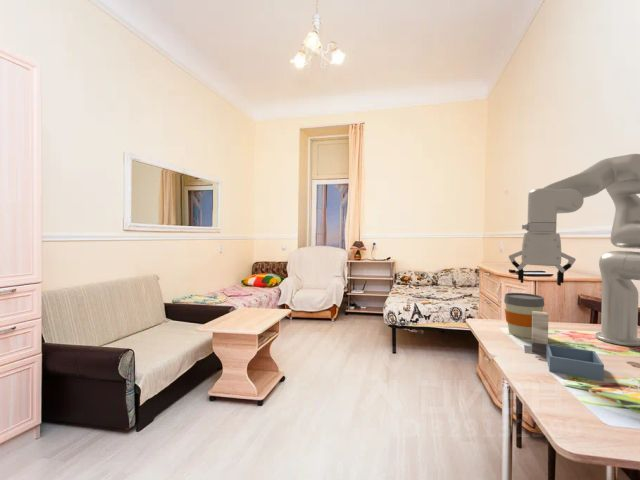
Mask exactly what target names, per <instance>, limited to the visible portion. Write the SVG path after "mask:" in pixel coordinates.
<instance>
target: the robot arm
mask: <svg viewBox="0 0 640 480" xmlns="http://www.w3.org/2000/svg"><path fill="white" fill-rule="evenodd" d="M604 190H606V192H607V193H608V196H610V198H611V199H612V202H613V204H614V207H615V212H614V216H613V223H612V227H611V231H610V243H611V244H612V245H613V246H614V247H617V248H622V249H637V250H639V249H640V197H639V196H638V195H640V153H629V154H625V155H624V154H623V155H620V156H619V155H618V156H613V157H608V158H604V159H601V160H600V161H598V162H596V163H594V164H593V165H591V166H589V167H588V168H586V169H584V170H583V171H581V172H579V173H576V174H575V175H570V176H568V177H566V178H564V179H561V180H558V181H556V182H553V183H550V184H548V185H546V186H544V187H542V188H533V189H531V190H530V191H529V192H528V193H527V195H528V196H527V224H522V225H521V230H526V232H525V233H524V234H523V238H522V245H521V246H522V247H521V250H519V251H517V252H515V253H512V254H509V255H508V259H509V261H510V262H511V264H512V265H513V266H514V267H515V268H516V269H517V270H518V272H517V273H518V274H517V275H518V277H517V279H518V281H520V283H521V284H524V276H525V275H524V274H525V273H524V271H525V270H524V267H526V266H527V265H529V266H543V267H544V266H546V267H548V266H549V267H555V268H556V269H557V273H556V277H557V278H556V285H557V286H562V284H564V282H565V281H564V277H565V273H566V271H568V270H569V269H571V268H572V266H573V264H574V263H575V262H576V257H573V256H571V255H568V254H566V253H565V252H562V242H561V235H560V233H557V224H558V222H557V216H558V214H569V213H570V214H571V213H574V212H577V211H578V210H580V209H581V208H582V207H583V204H584V199H585V198H590V197H591V196H592V197H593V196H595V195H597V194H599V193H600V192H602V191H604ZM520 256H521V263H520V264H519V263H518V262H517V261H516V258H518V257H520ZM562 258H564V259H566V260H567V261H568V262H566V264H565V265H563V266H562V265H561V264H562ZM598 267H599V272H600V276H601V315H600V317H601V321H600V322H601V323H600V324H601V325H600V327H601V328H600V331H598V332H596V333H595V338H596V339H598V340H600V341H603V342H607V343H610V344H615V345H619V346H620V345H621V346H628V347H640V337H638V327H639V326H638V323H639V321H638V320H639V318H638V317H639V290H638V288H637V287H636V285H635V284H634V283H633V281H640V251H630V250H629V251H628V250H627V251H626V250H612V251H611V250H610V251H607V252H605V253H603V254H602V255H601V256H600V257H599V260H598ZM632 280H633V281H632Z"/></svg>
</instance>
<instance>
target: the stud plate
mask: <svg viewBox="0 0 640 480" xmlns="http://www.w3.org/2000/svg"><path fill="white" fill-rule="evenodd" d="M523 348H524V354H529V355H536V356H542V357H546V354H542V353H536V352H532V345H526V344H524V345H523Z"/></svg>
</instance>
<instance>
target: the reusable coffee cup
mask: <svg viewBox="0 0 640 480" xmlns="http://www.w3.org/2000/svg"><path fill="white" fill-rule="evenodd" d="M503 302H504V304H505V308H504V314H505V321H506V323H507V330H508V333H509V334H510V335H512V336H515V337H518V338H519V337H520V338H525V339H532V311H537V312H544V311H543V310H544V307H545V298H544V296H541V295H538V294H533V293H524V292H523V293H522V292H507V293H505V294H504V300H503Z"/></svg>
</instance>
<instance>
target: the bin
mask: <svg viewBox="0 0 640 480" xmlns="http://www.w3.org/2000/svg"><path fill="white" fill-rule="evenodd" d="M545 360H546V362H547V367H548V371H549V372H550V373H551V372H552V373H556V374H563V375H568V376H572V377H573V376H574V377H580V378H584V379H591V380H596V381H602V382H604V380H605V379H604V376H605V375H604V374H605V372H604V371H605V365H604V363H603V361H602V360H601V359H600V357H599V356H598V354H597V353H596V351H595V350H589V349H581V348H576V347H575V348H574V347H569V346H568V347H567V346H563V345H562V346H561V345H553V344H549V343H548V344H546V356H545Z"/></svg>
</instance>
